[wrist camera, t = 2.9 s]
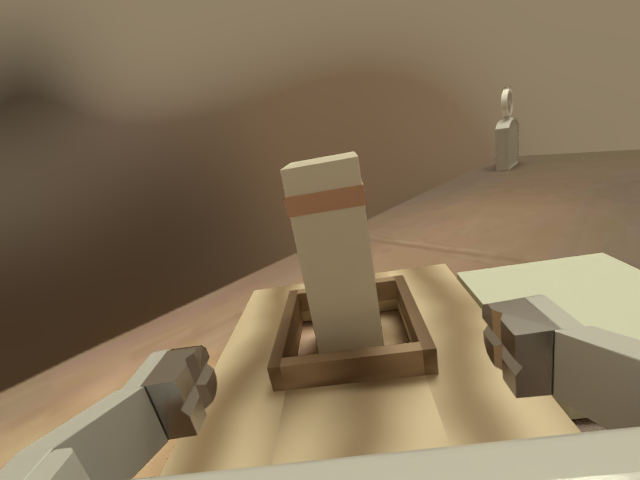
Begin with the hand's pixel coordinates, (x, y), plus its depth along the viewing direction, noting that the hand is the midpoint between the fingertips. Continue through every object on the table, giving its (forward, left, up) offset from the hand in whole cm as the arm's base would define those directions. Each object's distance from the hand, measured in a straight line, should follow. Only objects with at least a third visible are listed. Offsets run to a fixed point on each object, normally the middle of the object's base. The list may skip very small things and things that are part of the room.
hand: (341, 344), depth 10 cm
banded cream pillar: (0, +13, -10) cm, 16 cm away
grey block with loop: (+40, +75, -10) cm, 86 cm away
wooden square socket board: (0, +13, -10) cm, 16 cm away
